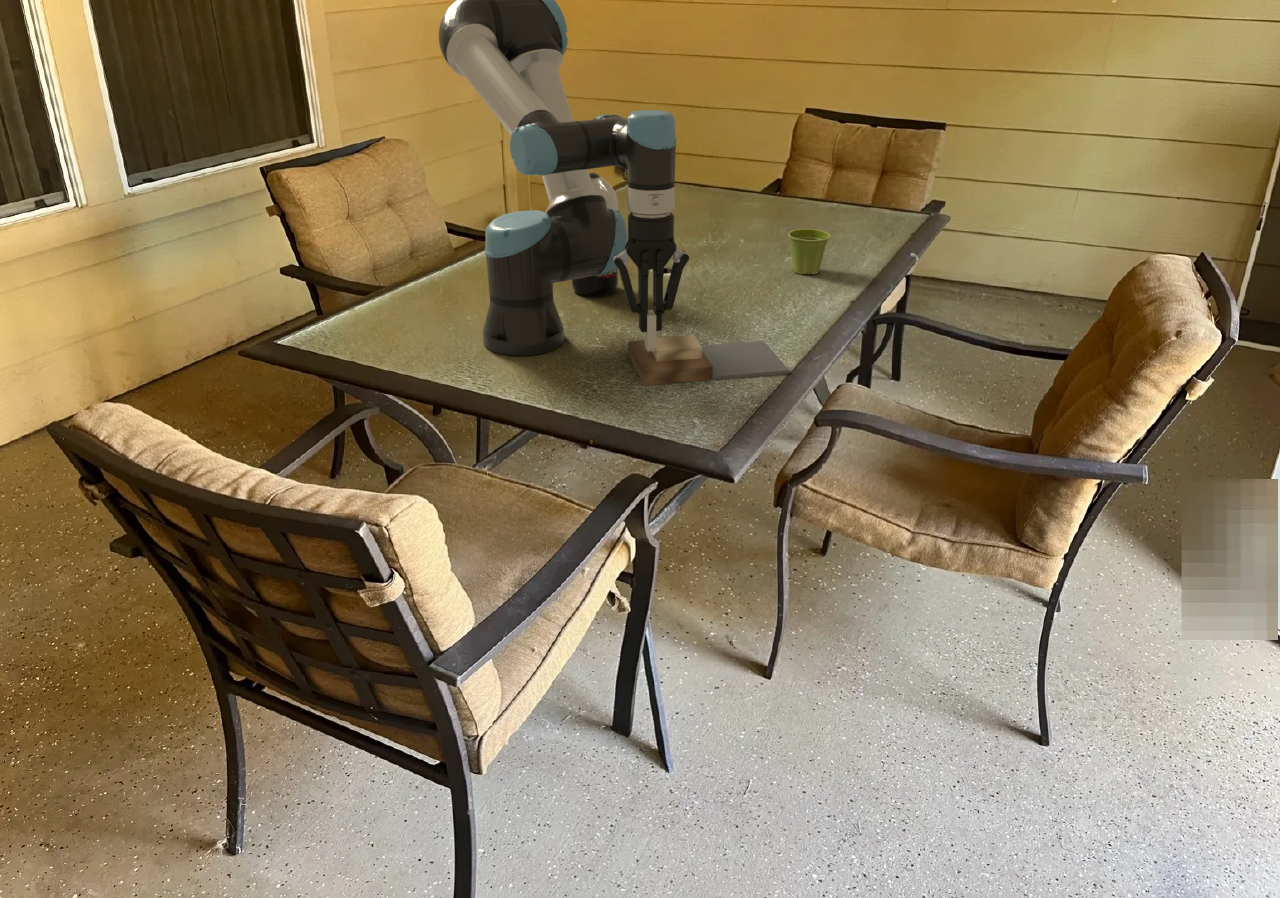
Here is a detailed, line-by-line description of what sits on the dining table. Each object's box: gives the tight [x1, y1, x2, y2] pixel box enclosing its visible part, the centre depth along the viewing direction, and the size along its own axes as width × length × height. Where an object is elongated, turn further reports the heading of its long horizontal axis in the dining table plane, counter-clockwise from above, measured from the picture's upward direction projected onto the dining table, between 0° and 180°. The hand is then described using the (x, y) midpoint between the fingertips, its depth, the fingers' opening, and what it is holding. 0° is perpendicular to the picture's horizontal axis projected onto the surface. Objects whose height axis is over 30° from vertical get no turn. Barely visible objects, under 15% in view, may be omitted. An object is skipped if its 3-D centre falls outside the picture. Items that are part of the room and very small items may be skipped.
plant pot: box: [787, 228, 831, 275], centre depth 208 cm, size 9×9×9 cm
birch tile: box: [652, 334, 702, 362], centre depth 160 cm, size 8×6×2 cm
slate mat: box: [700, 340, 790, 381], centre depth 164 cm, size 14×14×1 cm
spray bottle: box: [571, 172, 619, 297], centre depth 191 cm, size 10×10×25 cm
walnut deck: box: [627, 339, 713, 386], centre depth 161 cm, size 12×14×2 cm
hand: (650, 348), depth 159 cm, fingers closed
